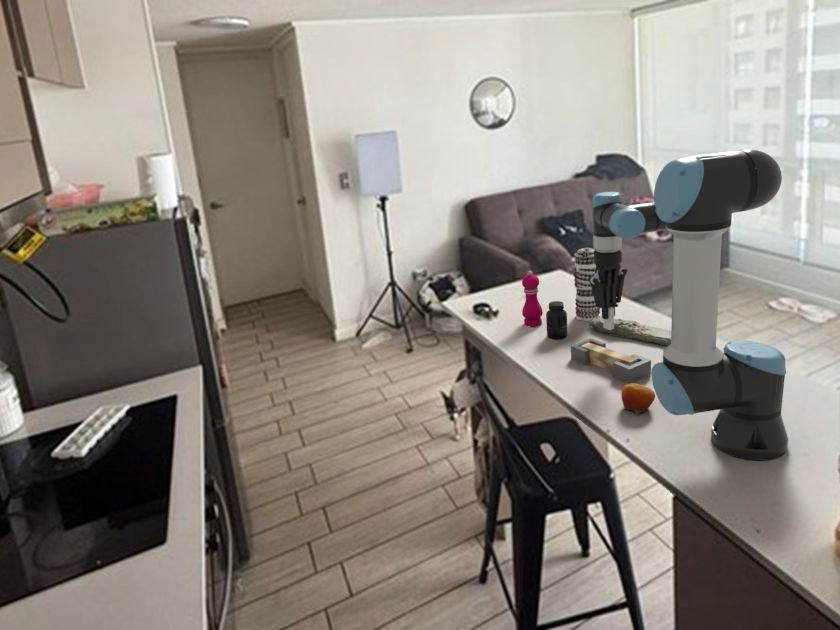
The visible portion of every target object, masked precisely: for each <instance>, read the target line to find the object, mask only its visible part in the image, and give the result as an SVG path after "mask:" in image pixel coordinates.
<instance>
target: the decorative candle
mask: <svg viewBox="0 0 840 630" xmlns="http://www.w3.org/2000/svg"><path fill="white" fill-rule="evenodd" d="M594 250H595V249H594V247H593V248H592V247H582V248H579V249H578V250H576V252H575V253H574V254H573V255H574V256H575V262H574V268H573V277H574V279H573V280H574V281H573V282H574V287H575V289H576V293H575V300H574V301H575V306H576V307H575V308H574V309H575V314H576V315H575V317H576V319H577V320H579V321H584V322H585V321H586V322H591V320H592V319H595V318H601V311H600V310H601V308H599V307H596V305H595V300H594V296H593V291H592V287H591V284H590V282H589V281H588V278H589V277H593V276H594V275H595V269H596V265H595V263H594Z"/></svg>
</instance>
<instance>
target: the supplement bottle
mask: <svg viewBox="0 0 840 630" xmlns="http://www.w3.org/2000/svg"><path fill="white" fill-rule="evenodd" d="M545 314H546V315H545V317H546V318H545V320H546V323H545V324H546V336H547V338H548V339H549V340H552V341H560V340H562V341H563V340H564V339H566V338H567V337H568V313H567V311H566V310H565V309H564V302H563V301H559V300H555V301H554V300H553V301H550V302H549V303H548V310H547V311H546V313H545Z"/></svg>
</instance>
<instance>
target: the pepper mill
mask: <svg viewBox="0 0 840 630" xmlns="http://www.w3.org/2000/svg"><path fill="white" fill-rule="evenodd" d="M521 285H522V287H524V288H523V293H524V294H525V302H524V305H523V307H522V312H521V314H522V317H523V318H524V320H523V323H524V324H523V325H524V326H525V325H526V327H528V326H530V327H529V328H537V327H540V326H541V325H543V321H542V318H541V317H542V316H543V314H544V312H543V311H544V310H543V308H542V306H541V303H540V302H539V299H538V292H539V287H538V286H539V285H540V279H539V277H538V276H537V275H535V274H534V273H533V270H528V272H527V274H526V275H525V276H523V278H522V281H521ZM536 326H537V327H536Z"/></svg>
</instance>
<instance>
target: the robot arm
mask: <svg viewBox="0 0 840 630" xmlns="http://www.w3.org/2000/svg"><path fill="white" fill-rule="evenodd" d="M782 179H783V175H782V170H781V168H780V166H779V164H778V162H777V160H775V159H774V157H772V156H771V155H770V154H768V153H766V152H764V151H760V150H758V149H750V148H749V149H747V148H746V149H745V148H743V149H737V150H731V151H724V152H723V151H722V152H716V153H715V152H714V153H706V154H698V155H689V156H687V157H682V158H678V159H677V158H676V159H673V160H671V161H669V162H668V163H666V164H665V165H664V166H663V168H662V170H661V171H660V172H659V174H658V176H657V179H656V181H655V184H654V185H655V186H654V191H653V201H649V202H643V203H642V202H641V203H637V204H635V203H634V204H629V205H624V204H623V200H622V199H623V198H622V194H621V193H620V192H618V191H617V192H616V191H604V192H599V193H595V194H594V195H593V197H592V206H591V209H592V231H593V232H592V234H593V235H592V237H593V241H592V242H593V249H594V263H595V265H596V269H595V275H594V276H593V277H589V278H588V281H589V282H590V284H591V287H592V291H593V296H594V300H595V305H596V307H599V308H600V309H601V318H603V328H606V329H608V330H612V329H614V319H615V317H616V308H618V307H619V304H620V303H621V301H622V296H623V289H624V284H625V283H624V282H625V277H626V275H627V272H628V269H627V268H623V267H622V266H621V263H622V261H623V250H622V247H623V239H626V240H632V239H635V238H637V237H638V236H640V235H642V234H645V233H653V232H657V231H668V232H670V234H671V235H673V248H672V249H673V252H672V253H673V254H672V257H673V258H672V287H671V288H672V290H671V292H672V293H671V294H672V296H671V330H670V331H671V344H670V345H669V346H666V347H665V348H664V349H663V352H662V354H663V355H662V362H661V361H660V362H657V363H655V364H654V365H653V366H652V367H651V375H650V376H651V382H652V385H653V389H654V390H653V391H654V393H655V396H657V399H658V402H659V403H660V404H661V406H662V407H663V408H664V409H665V411H666V412H668V413H669V414H671V415H674V416H685V415H689V416H693V415H694V414H699V413H705V412H711V411H712V412H713V411H718V410H719V411H718V413H717V415H716V417H715V419H714V422H713V423H712V426H711V430H710V431H711V433H710V439H711V442H712V443H713V445H714V446H715V447H716V448H717V449H719V450H720V451H722V452H724V453H725V454H728V455H730V456H732V457H736V458H739V459H744V460H750V461H769V460H775V459H778V458H780V457H782V456H783V455H784V454H785V453H786V452H787V450H788V447H789V445H788V444H789V435H788V433H787V431H786V426H785V423H784V419H783V416H782V408H783V398H784V389H785V388H784V386H785V378H786V377H785V376H786V375H787V371H786V365H787V364H786V357H785V355H784V354H783V353H782V351H780V350H779V349H778V348H776V347H774V346H771V345H769V344H766V343H762V342H758V341H752V340H732V341H729V342H727V343H726V344H725V345H724V347H723V351H722V350H721V349H720V348H719V347H718V346H717V334H718V333H717V332H718V330H717V329H718V314H719V313H718V312H719V311H718V310H719V294H720V291H719V290H720V277H721V276H720V275H721V274H720V273H721V258H722V257H721V256H722V236H723V234H724V233H725V232H727V231H728V230H729V229H730V228H731V226H732V216H733V214H734V213H742V212H747V211H752V210H754V209H757V208H761V207H763V206H765V205H766V204H768V203H769V202H771V201H772V200H773V199H774V198H775V197H776V196H777V194H778V192H779V191H780V188H781V185H782V181H783V180H782Z"/></svg>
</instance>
